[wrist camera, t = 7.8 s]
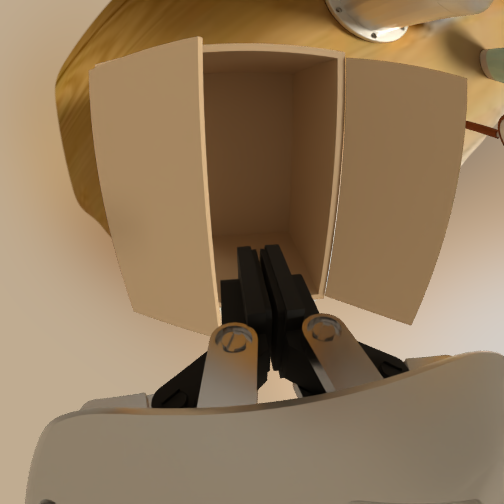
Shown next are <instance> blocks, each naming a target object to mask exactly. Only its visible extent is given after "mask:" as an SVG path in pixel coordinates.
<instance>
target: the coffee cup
mask: <svg viewBox="0 0 504 504" xmlns="http://www.w3.org/2000/svg"><path fill="white" fill-rule="evenodd" d="M480 63H481V67H482V70H483V72H484V73H485V75H486V76H487V77H488V78H489V79H492V80H496V81H499V82H502V83H504V48H496V49H487V50H482V51H481V53H480Z"/></svg>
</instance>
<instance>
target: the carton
mask: <svg viewBox="0 0 504 504" xmlns="http://www.w3.org/2000/svg"><path fill="white" fill-rule="evenodd" d="M118 59H119V58H118ZM114 60H116V59H114ZM114 60H110V61H106V62H102V63H99V64H95V68H96V67H99V66H101V65H103V64H106V63H108V62H111V61H114ZM203 94H204V121H205V143H206V161H207V177H208V192H209V206H210V218H211V230H212V242H213V253H214V263H215V273H216V283H217V293H218V302H219V307H221V288H220V280H228V279H238V263H237V247H243V246H251V250H252V249H256V251H257V254H258V258H259V262H260V249H264V247H265V245H274V244H279V246H280V248H281V251H282V253H283V256H284V258H285V260H286V263H287V265H288V268H289V270H290V272H291V275H292V274H301V275H302V276H303V278H304V281H305V283H306V285H307V287H308V289H309V292H310V294H311V296H312V298H313V300H314V299H323V298H324V293H325V288H326V282H327V276H328V270H329V264H330V257H331V251H332V244H333V237H334V229H335V221H336V213H337V204H338V195H339V185H340V174H341V162H342V149H343V132H344V110H345V52H341V51H335V50H329V49H322V48H314V47H306V46H296V45H283V44H262V43H229V44H208V45H203Z"/></svg>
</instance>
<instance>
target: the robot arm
mask: <svg viewBox="0 0 504 504" xmlns="http://www.w3.org/2000/svg"><path fill="white" fill-rule="evenodd" d="M325 1H326V4H327V6H328V8H329V10H330V12H331V13H332V15H333V16H334V17H335V19H336V20H337V21H338V22H339V23H340V24H341V25H342V26H343V27H344V28H346V29H347V30H348V31H349V32H351V33H353V34H354V35H356V36H357V37H360V38H362V39H364V40H367V41H370V42H375V43H388V42H392V41H395V40H398V39H399V38H401V37H402V36H403V35H404V34H405V32H406V31H407V28H408V26H410V25H414V24H419V23H423V22H428V21H433V20H439V19H445V18H451V17H458V16H466V15H474V14H479V13H481V12H484V11H485V10H487V9H488V8H489V7H490V5H491V4H492V2H493V0H325ZM336 10H337V11H338V12H337V11H336ZM371 36H372V37H371ZM237 263H238V279H228V280H220V288H221V312H222V325H221V326H219V327H218V328H216V329H215V330H214V331H213V332H212V334H211V337H210V341H209V346H208V351H207V352H206V353H204V354H203V355H202V356H200V357H199V358H198V359H197V360H195V361H194V362H193V363H192V364H191V365H189V366H188V367H186V368H185V369H184V370H183V371H182V372H180V373H179V374H177V375H176V376H175V377H174V378H172V379H171V380H170V381H168V382H167V383H166V384H165V385H163V386H162V387H161V388H159V389H158V390H157V391H156V392H155V394H152V395H146V394H145V393H140V394H134V395H127V396H120V397H113V398H104V399H95V400H91V401H88V402H87V403H85V404H84V405H83V406H82V408H81V409H80V410H79V411H75V412H71V413H67V414H64V415H62V416H59V417H57V418H55V419H54V420H52V421H51V422H50V423H49V424H48V425H47V426H46V427H45V429H44V430H43V432H42V434H41V436H40V438H39V441H38V443H37V446H36V449H35V452H34V455H33V459H32V462H31V467H30V472H29V477H28V483H27V489H26V499H25V504H504V356H503V355H501V354H499V353H496V352H492V351H474V352H467V353H463V354H458V355H454V356H450V355H441V356H432V357H422V358H409V359H406V360H405V361H404V362H402V360H400V359H398V358H397V357H394V356H392V355H389V354H387V353H385V352H382V351H380V350H377V349H375V348H372V347H370V346H368V345H365V344H363V343H360V342H358V341H357V340H356V339H355V338H354V336H353V335H352V334H351V332H350V331H349V330H348V328H347V327H346V325H345V324H344V323H343V322H342V321H341V320H340V319H339V318H337V317H335V316H333V315H330V314H322V313H321V314H319V311H318V310H317V307H316V305H315V303H314V300H313V298H312V296H311V294H310V292H309V289H308V287H307V285H306V283H305V281H304V278H303V276H302V275H301V274H292V275H291V272H290V270H289V268H288V265H287V263H286V260H285V258H284V256H283V253H282V251H281V248H280V246H279V244H274V245H265V247H264V249H260V262H259V258H258V254H257V251H256V249H252V250H251V246H243V247H237ZM270 357H271V362H272V366H273V370H274V371H279V375H280V378H286V379H288V380H289V381H291V382H293V388H294V391H295V393H296V395H297V397H298V398H297V399H290V400H283V401H276V402H268V403H260V404H257V400H258V399H257V398H258V389H259V388H260V387H261V386H262V385H263V384H264V383H265V382H266V381H267V372H269V371H270Z"/></svg>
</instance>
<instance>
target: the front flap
mask: <svg viewBox="0 0 504 504" xmlns="http://www.w3.org/2000/svg"><path fill="white" fill-rule="evenodd" d="M89 92H90V109H91V121H92V131H93V140H94V148H95V156H96V163H97V169H98V175H99V181H100V187H101V192H102V197H103V202H104V207H105V212H106V216H107V221H108V225H109V229H110V233H111V237H112V241H113V245H114V249H115V253H116V256H117V260H118V263H119V267H120V270H121V274H122V276H123V280H124V283H125V286H126V289H127V293H128V296H129V299H130V301H131V305H132V307H133V310H134V312H137V313H140V314H143V315H146V316H148V317H151V318H154V319H157V320H160V321H163V322H166V323H169V324H172V325H175V326H178V327H181V328H184V329H187V330H191V331H194V332H197V333H200V334H204V335H207V336H211V334H212V332H213V331H214V330H215V329H216V328H218V327H219V326H221V319H220V311H219V302H218V293H217V283H216V273H215V263H214V253H213V242H212V230H211V218H210V206H209V192H208V177H207V161H206V143H205V121H204V94H203V38H202V37H199V36H197V37H192V38H187V39H183V40H178V41H174V42H170V43H166V44H163V45H159V46H156V47H152V48H149V49H145V50H142V51H139V52H136V53H133V54H130V55H127V56H124V57H122V58H119V59H116V60H114V61H111V62H108V63H106V64H103V65H101V66H99V67H96V68H94V69H92V70H89Z"/></svg>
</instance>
